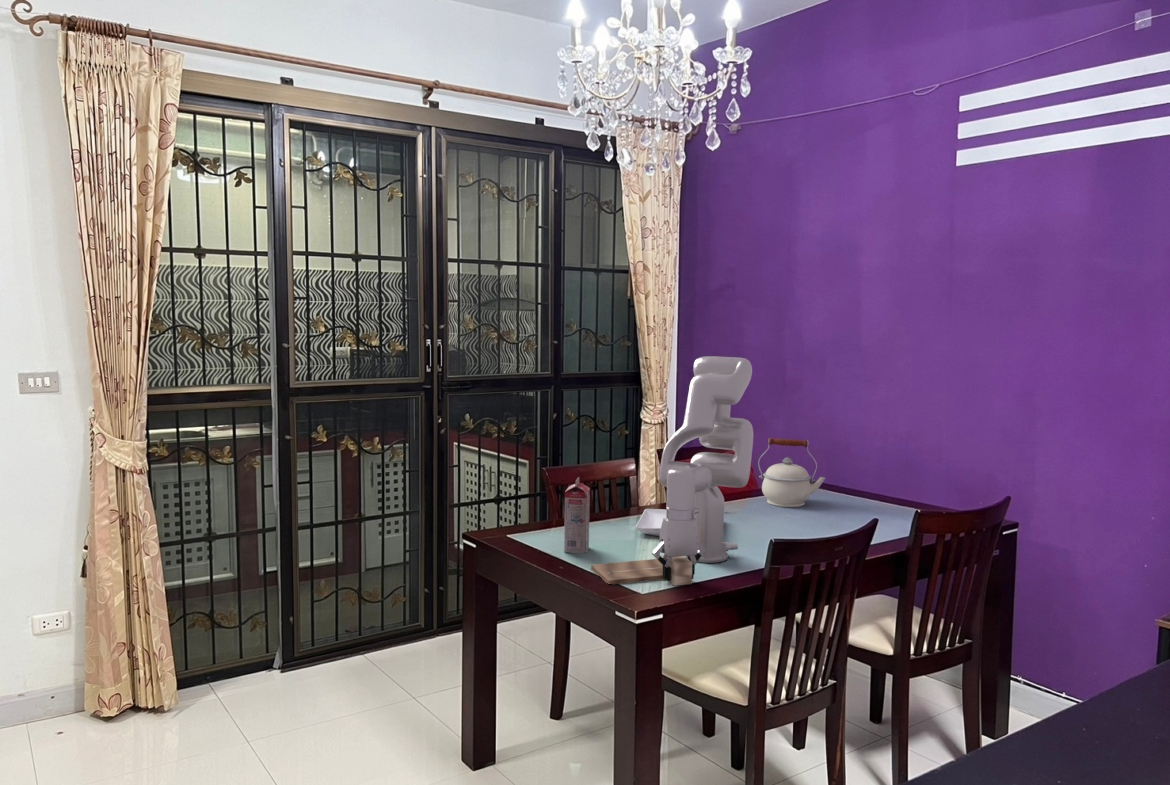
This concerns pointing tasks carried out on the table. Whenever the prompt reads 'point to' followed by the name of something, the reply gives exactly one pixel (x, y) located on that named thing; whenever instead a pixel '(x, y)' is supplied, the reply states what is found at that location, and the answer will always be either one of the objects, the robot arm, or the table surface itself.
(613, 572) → the board
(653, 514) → the square plate
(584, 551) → the juice carton
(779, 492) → the kettle
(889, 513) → the table surface
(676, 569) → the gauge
